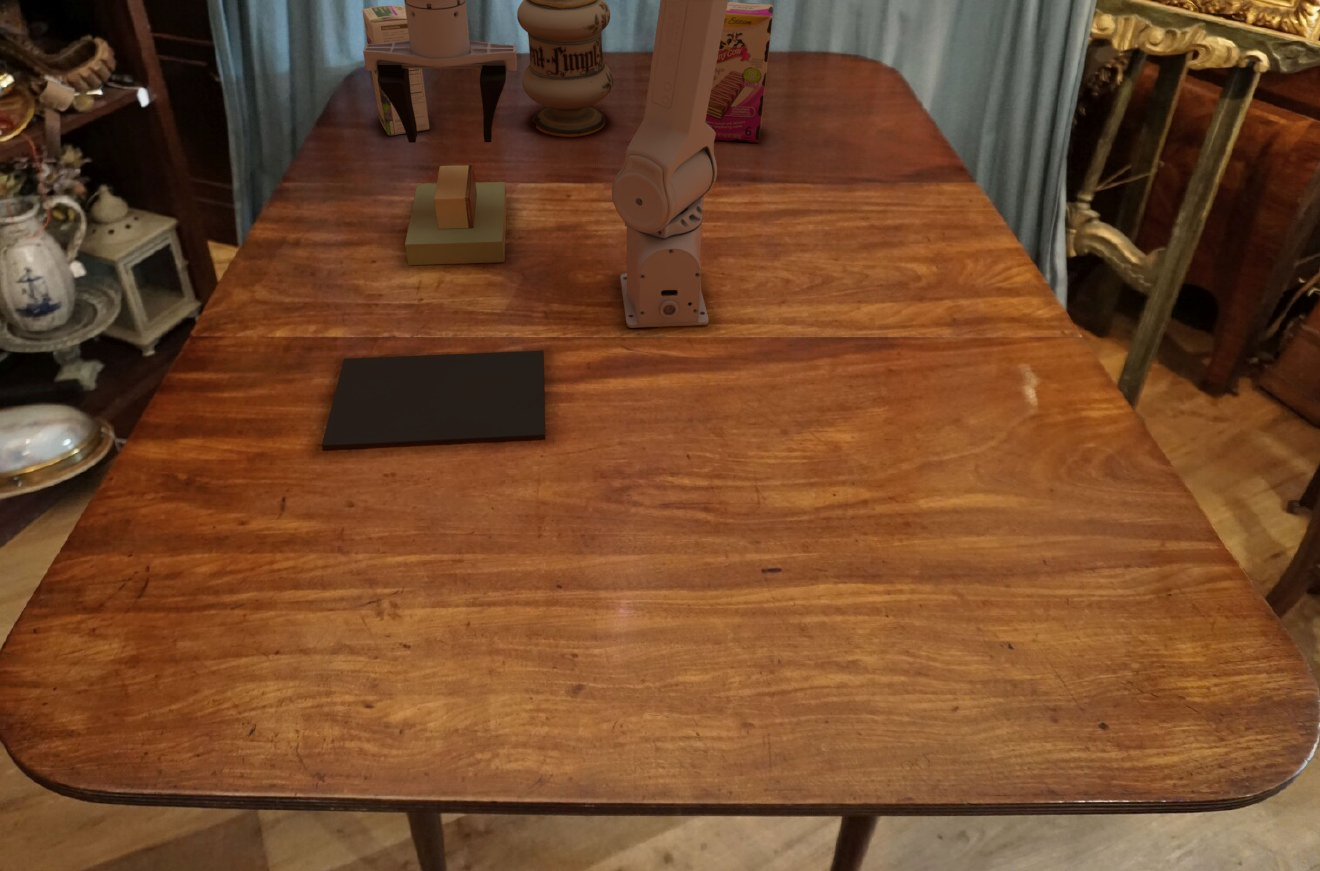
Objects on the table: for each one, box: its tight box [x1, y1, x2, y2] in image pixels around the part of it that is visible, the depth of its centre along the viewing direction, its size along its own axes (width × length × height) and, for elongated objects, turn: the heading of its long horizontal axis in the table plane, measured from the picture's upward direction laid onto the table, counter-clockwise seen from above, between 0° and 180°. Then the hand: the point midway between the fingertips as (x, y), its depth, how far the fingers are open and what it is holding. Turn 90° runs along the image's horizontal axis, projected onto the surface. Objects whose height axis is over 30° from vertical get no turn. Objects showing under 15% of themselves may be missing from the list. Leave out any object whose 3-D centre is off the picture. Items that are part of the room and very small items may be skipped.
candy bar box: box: [705, 1, 774, 143], centre depth 120 cm, size 11×5×16 cm, turn 84°
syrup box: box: [362, 4, 430, 136], centre depth 121 cm, size 6×6×14 cm
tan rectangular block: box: [434, 164, 477, 229], centre depth 101 cm, size 8×4×4 cm, turn 6°
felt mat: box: [321, 350, 546, 451], centre depth 81 cm, size 12×18×1 cm, turn 96°
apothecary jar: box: [516, 0, 614, 138], centre depth 122 cm, size 12×12×18 cm
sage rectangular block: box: [404, 181, 508, 266], centre depth 103 cm, size 14×10×2 cm
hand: (450, 138), depth 97 cm, fingers open, 7 cm apart
